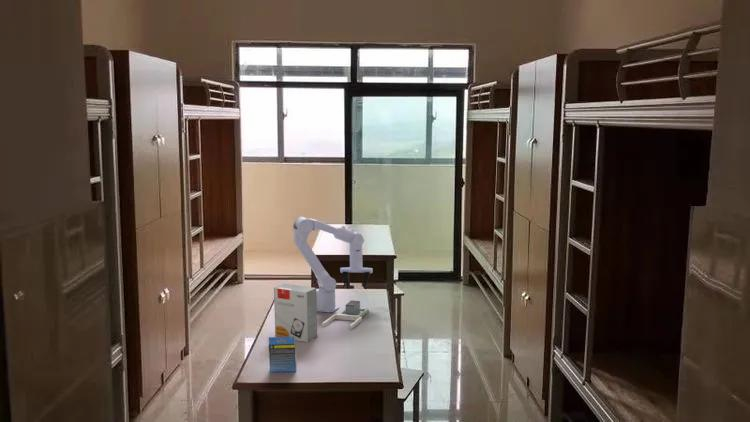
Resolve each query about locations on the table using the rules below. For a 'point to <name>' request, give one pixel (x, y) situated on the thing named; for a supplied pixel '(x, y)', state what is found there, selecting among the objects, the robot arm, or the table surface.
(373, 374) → the table surface
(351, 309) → the grey rectangular block
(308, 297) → the hard drive box
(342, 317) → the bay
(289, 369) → the label tape cartridge
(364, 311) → the tray
